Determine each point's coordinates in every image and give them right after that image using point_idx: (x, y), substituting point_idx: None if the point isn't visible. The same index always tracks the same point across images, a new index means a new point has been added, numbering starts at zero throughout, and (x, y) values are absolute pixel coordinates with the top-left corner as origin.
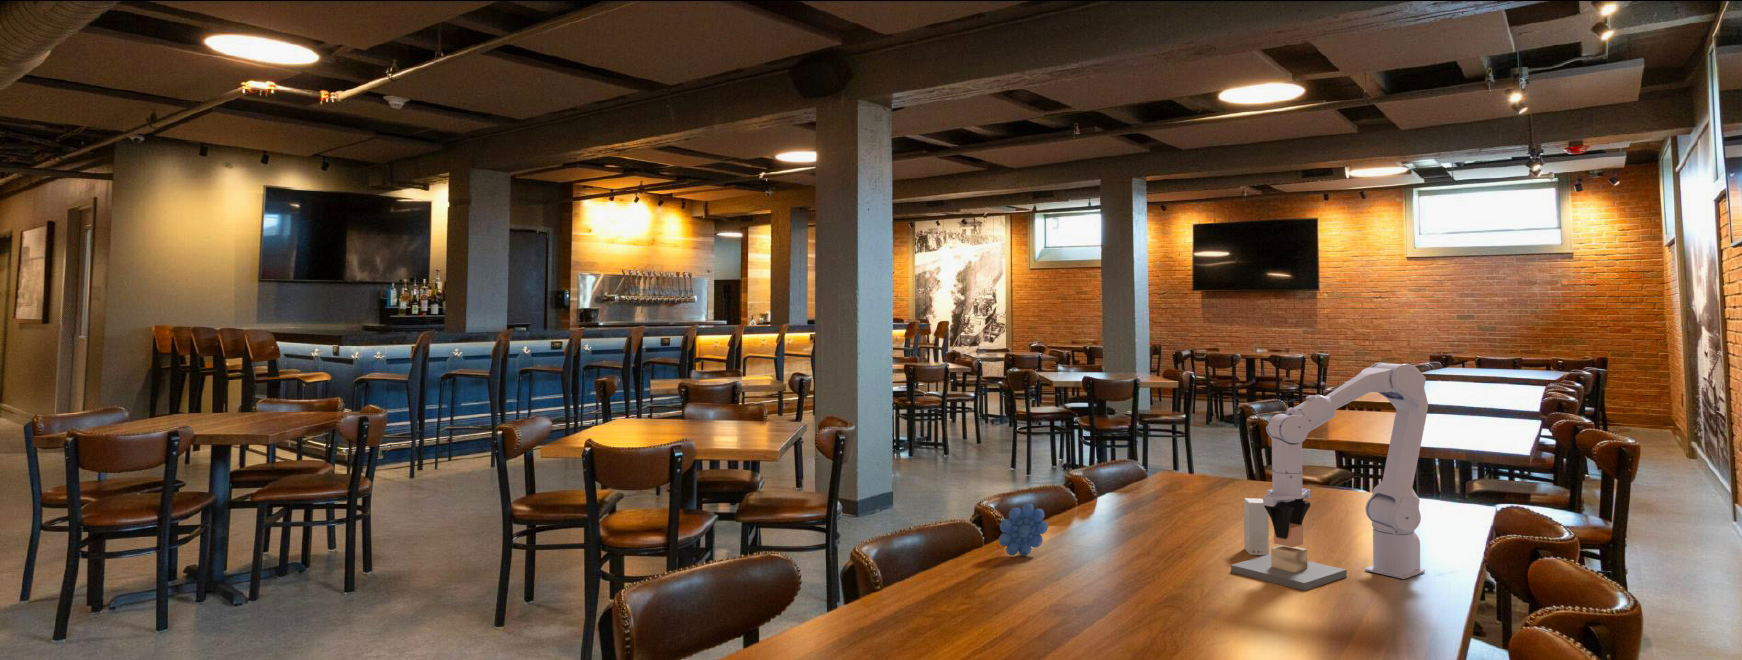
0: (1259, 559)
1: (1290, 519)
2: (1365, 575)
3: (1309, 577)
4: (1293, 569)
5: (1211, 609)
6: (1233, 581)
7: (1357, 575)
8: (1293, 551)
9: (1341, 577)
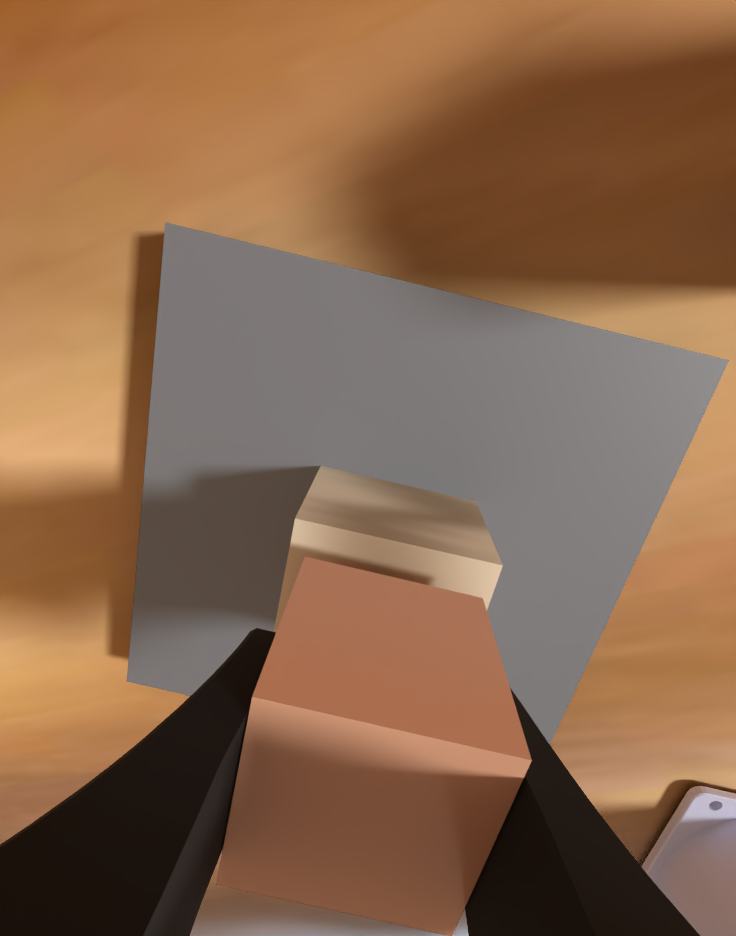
0: (466, 338)
1: (520, 880)
2: (610, 791)
3: None
4: None
5: None
6: (9, 329)
7: (588, 768)
8: None
9: None
